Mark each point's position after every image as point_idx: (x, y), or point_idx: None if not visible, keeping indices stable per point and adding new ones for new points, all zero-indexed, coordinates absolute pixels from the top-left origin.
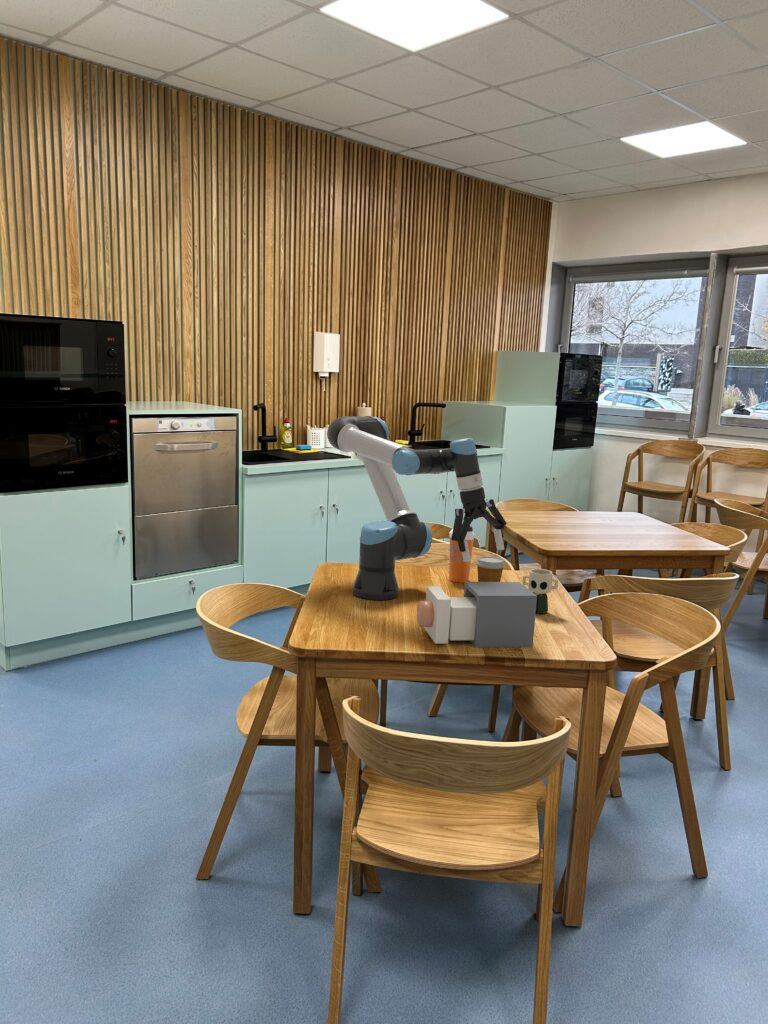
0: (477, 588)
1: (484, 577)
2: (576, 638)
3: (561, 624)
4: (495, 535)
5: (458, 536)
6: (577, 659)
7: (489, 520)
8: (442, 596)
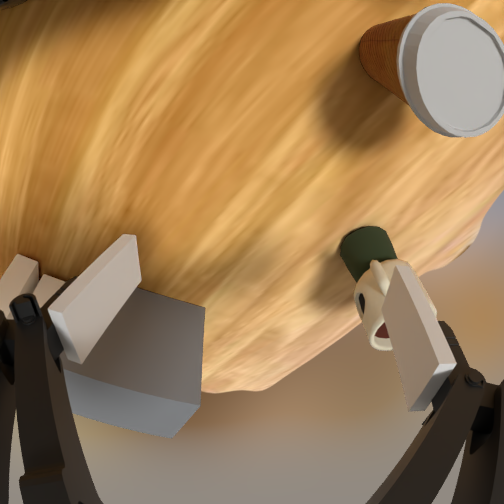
0: (70, 395)
1: (384, 70)
2: (278, 358)
3: (324, 314)
4: (419, 339)
5: (13, 374)
6: (208, 391)
7: (386, 484)
8: None
